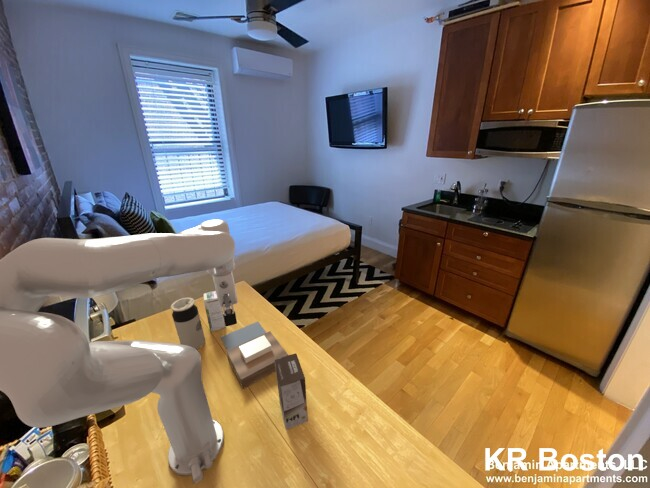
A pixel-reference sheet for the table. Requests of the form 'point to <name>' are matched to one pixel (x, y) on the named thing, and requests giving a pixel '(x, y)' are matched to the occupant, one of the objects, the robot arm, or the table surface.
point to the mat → (242, 335)
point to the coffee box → (291, 390)
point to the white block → (255, 348)
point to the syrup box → (213, 311)
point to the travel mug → (188, 323)
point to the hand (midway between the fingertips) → (229, 314)
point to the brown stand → (255, 362)
